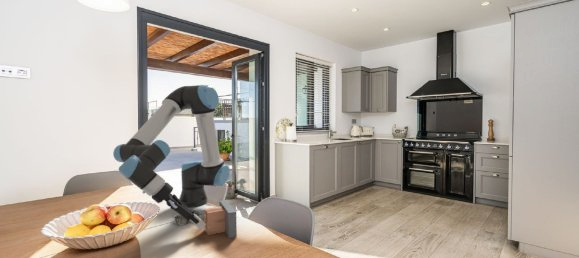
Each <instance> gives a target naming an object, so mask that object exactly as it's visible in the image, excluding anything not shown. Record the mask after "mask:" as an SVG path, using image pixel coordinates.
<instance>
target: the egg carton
mask: <svg viewBox="0 0 579 258" xmlns="http://www.w3.org/2000/svg"><path fill="white" fill-rule="evenodd" d="M191 210H192V212H193V211H195V212H194V213H193V214H195V215H197V216H198V217H199V218H200V216H201V214H202V213H200V212H199V211H197V210H195V209H193V208H192V209H191ZM172 217H173V221H174V224H178V226H182V225H183V226H184V225H187V224H189V223H192V222H191V221H190V220H189V221H187V219H186V218H184V217H183V216H182V215H180V214H179V213H176V214H175V215H173V216H172Z"/></svg>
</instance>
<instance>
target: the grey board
mask: <svg viewBox="0 0 579 258" xmlns="http://www.w3.org/2000/svg"><path fill="white" fill-rule="evenodd" d="M219 206H221V207H222V208H223V209H224V210H225V232H224V233H225V234H226V235H227V237H228V239H232V238H237V236H238V235H237V233H238V232H237V211H236V209H234V207H233V206H232V205H231V203H230V202H229V201H228V199H221V200H219Z"/></svg>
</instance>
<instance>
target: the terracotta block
mask: <svg viewBox="0 0 579 258" xmlns="http://www.w3.org/2000/svg"><path fill="white" fill-rule="evenodd" d="M204 222H205V223H206V225H205V227H204V232H205V233H206V235H207V236H212V235H215V234H216V233H217V234H220V233H226V232H225V210H224V209H223V208H222V207H221V206H220V205H219V206H213V207H208V208H204Z"/></svg>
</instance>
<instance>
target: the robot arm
mask: <svg viewBox="0 0 579 258" xmlns="http://www.w3.org/2000/svg"><path fill="white" fill-rule="evenodd" d="M219 100H220V98H219V94H218V92H217V90H216V88H214V87H213V86H211V85H210V84H209V85H207V84H205V85H204V84H199V85H197V84H196V85H184V86H180V87H177V88H176V89H175V90H173V91H172V92H170V93H169V94H168V95H166V97H165V98H164V99H162V102H161V105H160V106H159V107H158V109H157V110H156V111H155V112H154V113H152V115H151V116H150V117H149V118H148V119H147V121H146V122H145V123H144V124H143V125H142V126H140V128H139V129H138V130H137V131H136V132H135V134H133V136H131V138H130V139H129V140H128V141H127V142H126V143H123V144H118V145H117V146H116V147H115V148H114V149H113V155H112V156H113V157H114V159H115V161H117V162H119V163H122V164H121V165H120V166H119V167H118V171H119V172H120V174H121V175H122V176H124V178H125V179H127V180H129V181H130V182H132V184H133V185H135V186H136V187H137V188H139V189H140V190H142V194H146V195H147V196H149V197H151V199H152V200H153V201H154V202H156V203H157V204H161V203H163V201H165V203H166V206H167V207H170V209H171V210H173V211H175V212H176V214H180V215H182V216H183V217H184V218H186V219H187V221H189V220H190V221H191V223H192V224H194V225H195V226H196V227H197V228H198V229H200V230H203V229H205V225H206V223H205V220H203V219H201V218H200V216H199V217H198V216H197V215H195V214H193V213H194V212H195V211H196V210H194V211H193V212H192V209H191V207H192V208H193V207H199V206H202V205H206V204H207V203H208V201H209V200H208V195H207V192H206V190H205V186H206V187H207V186H210V187H214V188H215V187H223V186H225V185H226V184H227V182H228V180H229V178H230V167H229V165H228V164H225V163H224V159H223V158H221V154H220V149H219V143H218V137H217V130H216V125H215V118H214V114H215V113H216V108H218V106H219ZM185 110H191V115H192V116H194V117H195V121H196V127H197V131H198V137H199V143H200V149H201V153H202V154H201V155H202V160H194V161H188V162H185V163H182V165H181V170H180V173H181V193H180V195H179V198H178V196H177V195H176V194H175V193H173V194H172V192H173V191H174V187H173V185H170V183H168V182H166V180H165V179H164V178H163V177H162V176H160V175H159V173H157V172H155V170H156V169H157V167H158V166H159V165H160V164H161V163H162V162H163V161H164V160H166V158H167V157H168V156H169V154H170V153H171V147H170V145H169V144H168V143H167V142H165V141H164V140H162V139H161V140H160V139H157V137H158V136H159V135H160V134H161V133H162V132H163V130H164V129H165V128H166V127H167V126H168V124H169V123H170V122H171V120H172V119H173V118H175V116H178V115H179V114H181V112H182V111H185ZM156 139H157V140H156Z"/></svg>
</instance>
